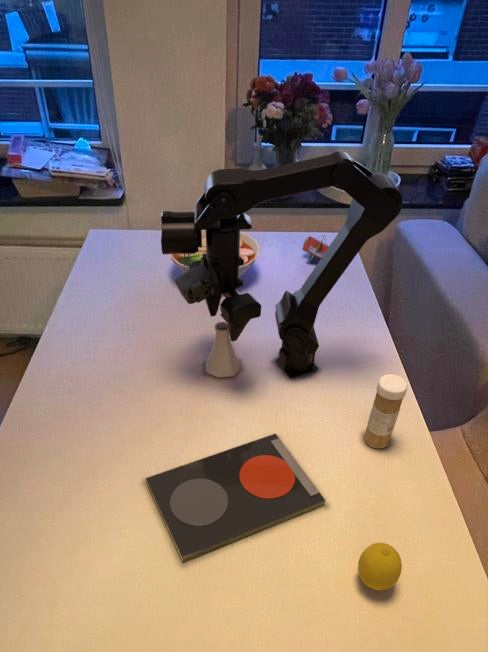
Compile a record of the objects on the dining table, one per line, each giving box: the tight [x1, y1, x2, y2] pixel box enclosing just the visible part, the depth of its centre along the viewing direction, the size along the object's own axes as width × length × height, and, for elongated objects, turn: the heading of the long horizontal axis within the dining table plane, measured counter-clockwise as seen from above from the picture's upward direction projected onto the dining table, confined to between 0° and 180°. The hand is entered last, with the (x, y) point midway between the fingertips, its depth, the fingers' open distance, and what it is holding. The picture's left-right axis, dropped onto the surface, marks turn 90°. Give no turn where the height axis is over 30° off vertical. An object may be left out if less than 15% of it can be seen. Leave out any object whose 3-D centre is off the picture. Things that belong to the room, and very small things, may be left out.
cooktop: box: [145, 433, 326, 563], centre depth 84 cm, size 24×16×2 cm, turn 115°
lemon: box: [357, 542, 403, 591], centre depth 70 cm, size 6×6×8 cm
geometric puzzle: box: [301, 234, 329, 264], centre depth 138 cm, size 7×7×8 cm
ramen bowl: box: [168, 230, 261, 277], centre depth 132 cm, size 25×23×8 cm
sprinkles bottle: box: [363, 373, 408, 449], centre depth 88 cm, size 5×5×13 cm
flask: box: [204, 321, 241, 378], centre depth 104 cm, size 7×7×10 cm
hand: (223, 328), depth 101 cm, fingers open, 9 cm apart
